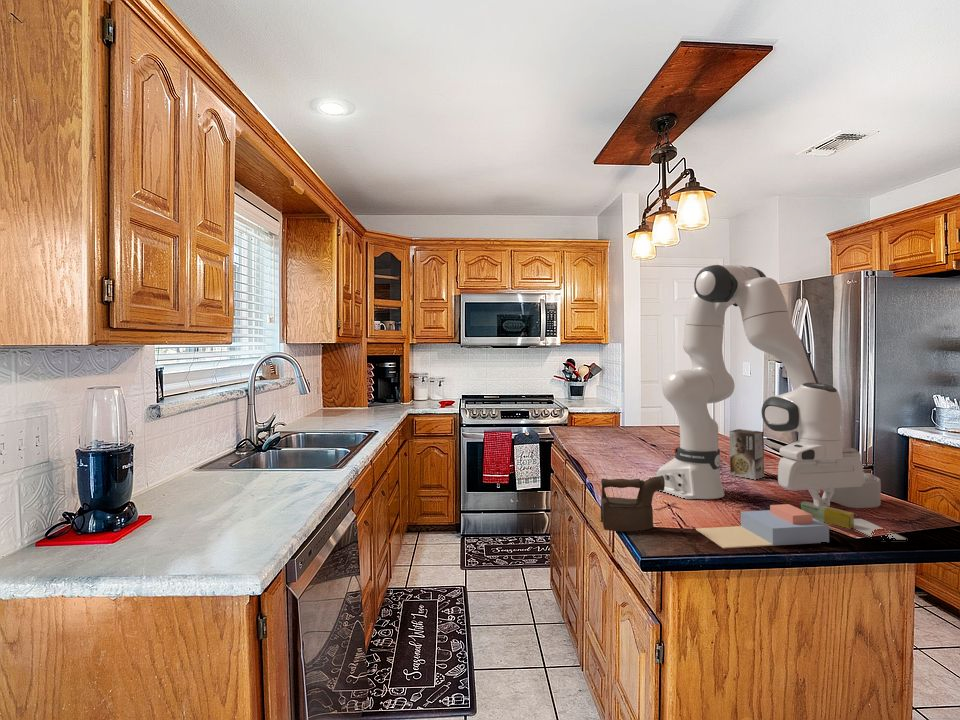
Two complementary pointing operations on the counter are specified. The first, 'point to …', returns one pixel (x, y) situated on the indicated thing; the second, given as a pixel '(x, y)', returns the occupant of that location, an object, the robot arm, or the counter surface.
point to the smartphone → (872, 529)
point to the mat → (733, 537)
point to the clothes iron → (629, 505)
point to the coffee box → (747, 453)
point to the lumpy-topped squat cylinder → (860, 494)
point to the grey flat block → (783, 529)
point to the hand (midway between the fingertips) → (821, 506)
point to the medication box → (829, 514)
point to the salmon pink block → (791, 514)
